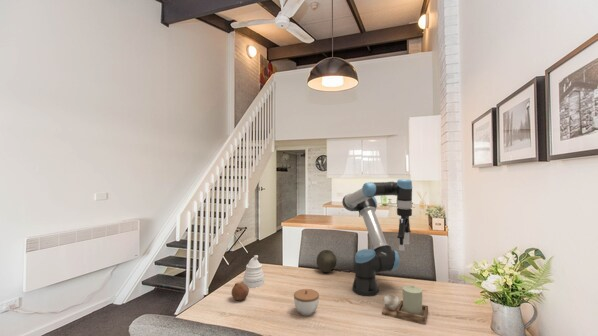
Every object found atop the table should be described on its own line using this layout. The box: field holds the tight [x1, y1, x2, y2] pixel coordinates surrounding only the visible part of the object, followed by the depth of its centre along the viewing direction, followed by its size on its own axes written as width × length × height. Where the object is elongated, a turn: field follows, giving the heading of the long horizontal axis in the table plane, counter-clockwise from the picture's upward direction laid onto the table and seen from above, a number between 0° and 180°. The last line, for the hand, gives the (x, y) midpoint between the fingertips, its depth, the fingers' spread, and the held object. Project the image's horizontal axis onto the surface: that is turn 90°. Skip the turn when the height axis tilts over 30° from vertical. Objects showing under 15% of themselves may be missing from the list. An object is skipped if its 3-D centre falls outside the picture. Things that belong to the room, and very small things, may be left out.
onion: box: [231, 282, 250, 301], centre depth 161 cm, size 10×9×10 cm
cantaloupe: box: [316, 249, 338, 273], centre depth 203 cm, size 14×14×15 cm
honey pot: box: [243, 254, 265, 289], centre depth 183 cm, size 13×13×18 cm
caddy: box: [381, 294, 429, 325], centre depth 144 cm, size 20×13×6 cm, turn 61°
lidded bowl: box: [293, 288, 320, 316], centre depth 146 cm, size 13×13×11 cm
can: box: [402, 285, 423, 316], centre depth 142 cm, size 9×9×12 cm
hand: (404, 247), depth 156 cm, fingers open, 13 cm apart
